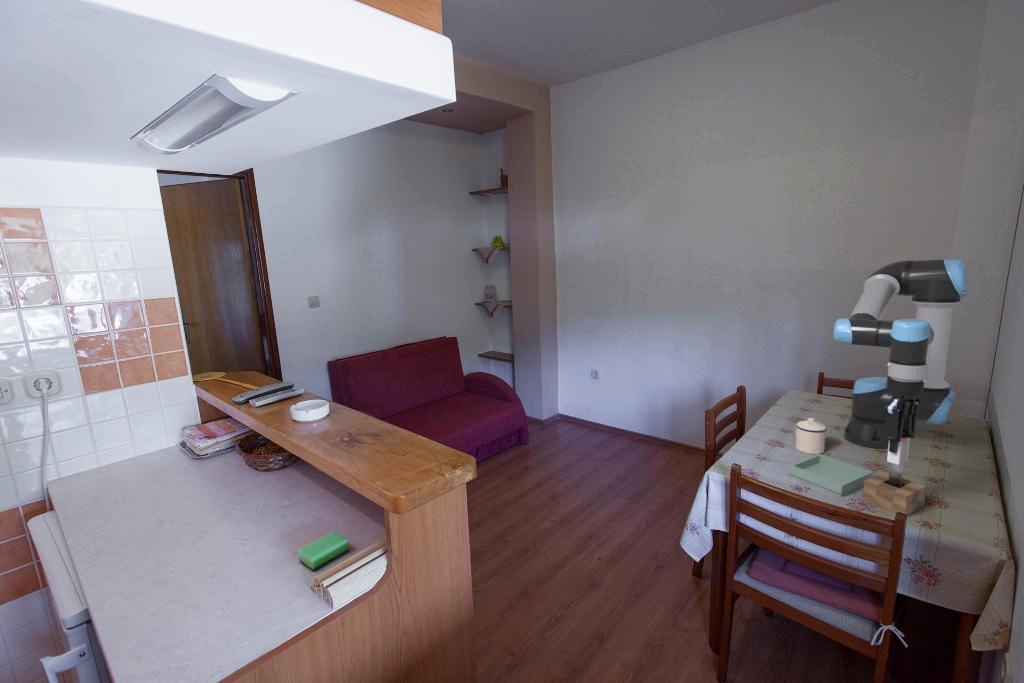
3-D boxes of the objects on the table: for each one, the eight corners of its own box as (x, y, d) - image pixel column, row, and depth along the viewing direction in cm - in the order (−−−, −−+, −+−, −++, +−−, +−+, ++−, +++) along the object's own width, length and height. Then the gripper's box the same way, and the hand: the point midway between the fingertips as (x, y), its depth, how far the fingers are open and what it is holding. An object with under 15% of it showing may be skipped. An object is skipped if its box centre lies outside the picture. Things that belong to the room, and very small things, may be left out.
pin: (890, 484, 130) (895, 434, 128) (903, 488, 128) (909, 437, 125) (885, 487, 129) (890, 436, 126) (897, 491, 126) (903, 440, 124)
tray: (817, 463, 155) (818, 453, 154) (871, 482, 140) (872, 472, 140) (786, 475, 148) (787, 465, 147) (841, 497, 133) (841, 486, 133)
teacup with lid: (831, 453, 161) (833, 421, 159) (806, 456, 160) (808, 424, 158) (806, 440, 173) (808, 410, 171) (783, 442, 172) (785, 412, 170)
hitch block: (881, 491, 136) (883, 471, 134) (923, 506, 127) (926, 486, 126) (862, 500, 131) (864, 480, 130) (904, 517, 122) (906, 496, 121)
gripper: (904, 370, 129) (896, 449, 134) (872, 380, 122) (865, 463, 127) (938, 375, 123) (928, 458, 127) (906, 386, 116) (897, 474, 120)
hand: (897, 460), depth 127 cm, fingers closed on pin, 3 cm apart
